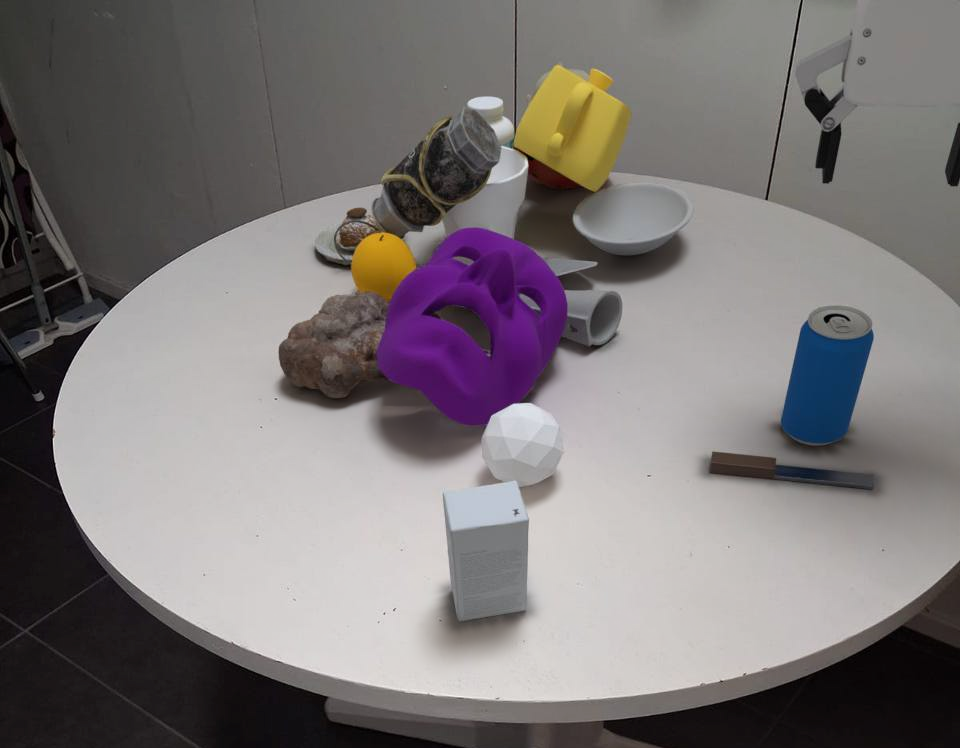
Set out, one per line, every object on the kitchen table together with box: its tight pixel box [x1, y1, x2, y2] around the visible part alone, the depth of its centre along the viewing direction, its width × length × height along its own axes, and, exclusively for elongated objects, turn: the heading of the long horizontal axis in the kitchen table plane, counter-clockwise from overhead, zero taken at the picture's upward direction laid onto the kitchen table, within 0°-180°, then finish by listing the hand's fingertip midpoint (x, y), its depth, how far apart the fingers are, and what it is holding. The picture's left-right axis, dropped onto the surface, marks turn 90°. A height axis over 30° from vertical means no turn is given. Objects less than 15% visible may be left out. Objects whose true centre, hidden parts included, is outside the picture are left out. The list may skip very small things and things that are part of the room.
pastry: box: [314, 207, 405, 266], centre depth 125 cm, size 12×12×5 cm
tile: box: [543, 258, 598, 277], centre depth 114 cm, size 20×11×1 cm, turn 124°
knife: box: [709, 450, 875, 490], centre depth 90 cm, size 15×2×1 cm, turn 76°
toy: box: [514, 61, 590, 190], centre depth 132 cm, size 15×15×15 cm
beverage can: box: [780, 304, 875, 447], centre depth 90 cm, size 6×6×12 cm
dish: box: [572, 181, 694, 256], centre depth 120 cm, size 18×14×5 cm
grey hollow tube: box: [518, 289, 623, 347], centre depth 111 cm, size 6×6×19 cm
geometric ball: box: [481, 402, 565, 488], centre depth 89 cm, size 8×8×8 cm
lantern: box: [334, 106, 502, 265], centre depth 114 cm, size 9×8×25 cm
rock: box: [277, 291, 442, 399], centre depth 104 cm, size 18×12×10 cm, turn 108°
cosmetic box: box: [442, 481, 530, 622], centre depth 76 cm, size 6×4×12 cm
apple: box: [350, 233, 417, 303], centre depth 115 cm, size 8×8×8 cm
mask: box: [377, 228, 568, 427], centre depth 94 cm, size 17×15×25 cm
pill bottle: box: [466, 96, 515, 150], centre depth 127 cm, size 8×7×14 cm
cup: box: [441, 146, 528, 266], centre depth 119 cm, size 12×12×11 cm
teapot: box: [514, 64, 632, 193], centre depth 119 cm, size 20×12×12 cm
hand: (887, 178), depth 77 cm, fingers open, 9 cm apart
